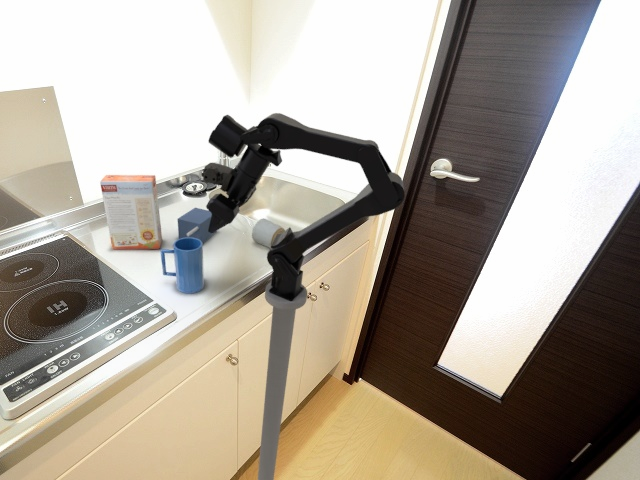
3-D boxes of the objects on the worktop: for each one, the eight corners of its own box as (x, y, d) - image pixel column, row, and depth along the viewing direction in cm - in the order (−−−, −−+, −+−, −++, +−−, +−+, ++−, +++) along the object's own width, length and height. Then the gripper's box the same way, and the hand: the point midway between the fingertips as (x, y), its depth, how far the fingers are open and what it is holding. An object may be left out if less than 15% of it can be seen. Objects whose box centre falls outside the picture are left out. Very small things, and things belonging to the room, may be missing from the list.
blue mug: (206, 279, 95) (204, 238, 89) (200, 294, 89) (199, 252, 83) (167, 276, 96) (163, 235, 90) (160, 291, 90) (155, 248, 84)
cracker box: (162, 240, 113) (156, 174, 102) (159, 250, 108) (152, 181, 97) (117, 240, 112) (105, 173, 101) (111, 249, 107) (99, 180, 96)
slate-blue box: (195, 227, 122) (195, 207, 118) (216, 232, 119) (216, 212, 115) (169, 246, 110) (167, 225, 106) (191, 252, 107) (190, 230, 103)
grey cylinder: (271, 254, 107) (273, 230, 103) (250, 244, 112) (252, 221, 108) (292, 242, 114) (295, 220, 110) (272, 234, 118) (274, 212, 115)
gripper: (231, 139, 85) (203, 192, 94) (201, 159, 70) (171, 220, 78) (270, 166, 85) (239, 216, 94) (249, 192, 70) (214, 249, 79)
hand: (216, 224), depth 86 cm, fingers open, 9 cm apart
